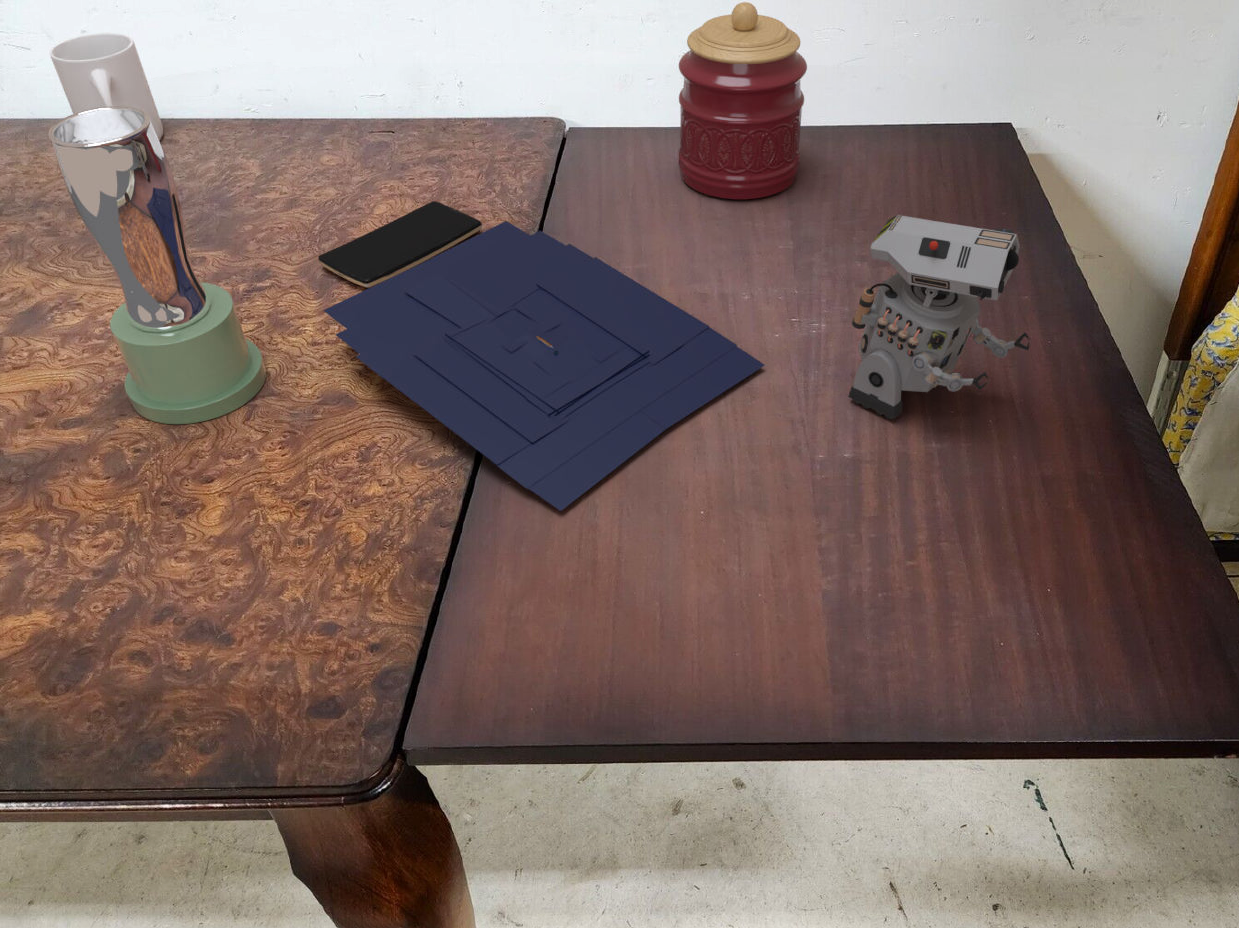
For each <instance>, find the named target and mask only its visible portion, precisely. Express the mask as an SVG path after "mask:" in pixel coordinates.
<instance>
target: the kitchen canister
mask: <svg viewBox="0 0 1239 928" xmlns="http://www.w3.org/2000/svg"><path fill="white" fill-rule="evenodd" d="M800 38H801V37H800V36H799V35H798V34H797V33H796V32H795V31H794V30H792V29H790V28H789V27H787V26H786V24H785V23H784V22H782V21H781V20H779V19H777V18H774V17H771V16H767V15H762V14H758V10H757V8H756V6H755V5H754V4H752V3H751V2H747V1H743V2H739V3H738V4H736V5H735V6H734V7H733V9H732V11H731V14H725V15H718V16H716V17H713V18H711V19H708V20H707V21H705V22H704V23H703V24H702V25H701V26H699V27H698V28H696V29H694V30H693V31H692V32H690V34H689V35H688V36H687V39H686V44H687V47H688V48H689V50H688V51H686V53H684V54H683V55H682V56H681V58H680V60H679V62H678V70H679V73H680V74H681V76H682V77H683V86H682V89H681V90H680V92H679V95H678V103H679V106H680V112H679V113H680V114H679V115H680V116H679V117H680V121H679V122H680V132H679V133H680V138H679V139H680V140H679V141H680V144H679V145H680V146H679V149H678V165H679V168H680V174H681V175H680V176H681V177H682V180H683V181H684V182H685V184H686V185H687V186H689V187H690V188H692V189H693V190H695V191H697V192H699V193H701V194H704V195H707V196H710V197H714V198H719V199H727V200H754V199H761V198H766V197H769V196H773V195H776V194H779V193H780V192H783V191H784V190H786V189H788V188H789V187H790V186H791V185H792V184H793V183H794V181H795V180H796V176H797V172H798V170H799V167H800V159H801V152H800V138H801V126H802V125H801V124H802V113H803V112H802V111H803V106H804V104H805V95H804V93H803V91H802V89H801V79H802V78H803V77H804V76H805V75H806V73H807V70H808V63H807V61H806V59H805V57H803V55H801V53H799V52H798V50H799V48H800V46H801V39H800Z"/></svg>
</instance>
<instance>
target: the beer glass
mask: <svg viewBox="0 0 1239 928" xmlns="http://www.w3.org/2000/svg"><path fill="white" fill-rule="evenodd" d="M48 137H49V139H50V142H51V144H52V148H53V151H54V153H55V154H54V155H55V157H56V160H57V163H58V167H59V169H60V170H59V171H60V172H61V175H62V179H63V181H64V184H65V186H66V189H67V192H68V195H69V196H70V198H71V200H72V202H73V205H74V207H75V209H76V211H77V213H78V216H79V217H80V219H81V220H82V222H83V223H84V225H85V227H86V229H87V230H88V232H89V233H90V235H91V237H92V238H93V240H94V241H95V244H96V245H97V246H98V247H99V249H100V251H101V252H102V254H103V255H104V257H105V258H106V260H107V261H108V263H109V264H110V267H111V268H112V269H113V271H114V273H115V275H116V277H117V279H118V281H119V284H120V287H121V289H122V293H123V294H122V295H123V299H124V303H125V304H126V309H127V314H128V318H129V321H130V322H131V324H132V325H133V326H134V327H136V328H137V329H140V330H143V331H147V332H168V331H174V330H178V329H181V328H184V327H187V326H189V325H191V324H193V323H195V322H197V321H198V320H200V319H201V318H202V317H204V316H205V315H206V313H207V312H208V310H209V308H210V299H209V296H208V295H207V293H206V291H205V289H204V288H203V286H202V284H201V283H200V282H201V281H200V279H199V277H198V275H197V274H196V271H195V269H194V267H193V264H192V262H191V258H190V254H189V249H188V244H187V237H186V232H185V224H184V218H183V212H182V211H183V210H182V205H181V200H180V196H179V192H178V187H177V184H176V181H175V177H174V174H173V171H172V168H171V165H170V163H169V161H168V157H167V156H166V153H165V150H164V149H163V146H162V143H161V142H160V141H161V140H159V139H158V137H157V134H156V132H155V130H154V128H153V126H152V123H151V121H150V117H149V115H148V114H147V113H146V112H145V111H143V110H140V109H137V108H133V107H124V106H112V107H101V108H95V109H90V110H86V111H82V112H78V113H75V114H73V113H72V114H69V115H67V116H66V117H64V118H62V119H60V120H58V121H57V122H56V123H54V124H53V125H52V126H51V127H50V128H49V131H48Z"/></svg>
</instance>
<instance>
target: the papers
mask: <svg viewBox="0 0 1239 928" xmlns="http://www.w3.org/2000/svg"><path fill="white" fill-rule="evenodd" d="M322 311H323V312H325V314H327V315H328V316H329V317H331V318H332V319H333V320H334V321H336V322H337V323H339V324H340V325H341V326H342V327H343V328H345V329H343V330H341V331H339V332H337V333H335V336H336V337H337V338H338V339H340V340H341V341H342V342H344V343H345V344H346V345H347V346H348V347H350V348H351V349H352V350H353V351H355V352H356V353H357V355H356V356H355V358H357V359H358V360H359V361H360V362H361V363H363V364H364V365H365V366H367V367H368V368H369V369H371V371H373V372H374V373H375V374H376V375H378V376H379V377H380V378H381V379H383V380H384V381H387V382H388V383H389V384H390V385H392V386H393V387H394V388H396V389H397V390H398V391H399V392H401V393H402V394H403V395H405V397H407V398H409V399H410V400H411V401H412V402H414V403H415V404H416V405H418V406H419V407H421V408H422V409H423V410H424V411H425V412H427V413H428V414H430V416H432V417H433V418H435V419H436V420H438V421H439V422H440V423H441V424H442V425H444V426H445V427H446V428H447V429H449V430H450V431H451V432H453V433H454V434H456V435H457V436H458V437H460V438H461V439H462V440H463V441H465V442H466V443H467V444H469V445H470V446H471V447H473V448H474V449H475V450H477V451H478V452H479V453H480V454H482V455H483V456H484V457H486V458H487V459H489V460H490V461H491V463H492V464H494V465H495V466H496V467H497V468H499V469H500V470H501V471H503V472H504V473H505V474H506V475H508V476H509V477H510V478H511V479H513V480H514V481H516V482H517V483H518V484H519V485H521V486H522V487H523V488H525V489H526V490H530V491H531V492H533V493H534V494H535V495H537V496H538V497H540V498H541V499H543V500H544V501H545V502H547V503H548V504H550V505H551V506H553V507H554V508H555V509H557V510H558V511H559V512H561V511H563V510H565V508H567V507H568V506H569V505H570V504H572V503H573V502H574V501H576V500H577V499H578V498H580V497H581V496H582V495H584V494H585V493H586V492H587V491H589V490H590V489H591V488H593V486H595V485H597V483H599V482H601V480H603V479H604V478H605V477H607V476H609V474H611V473H612V472H613V471H615V470H616V469H617V468H618V467H620V466H621V465H622V464H623V463H625V462H626V461H627V460H629V458H631V457H632V456H634V455H635V454H636V453H637V452H639V451H640V450H641V449H643V448H644V447H645V446H646V445H648V444H649V443H650V442H651V441H653V440H654V439H655V438H656V437H658V436H659V435H661V434H662V433H663V432H664V431H666V430H667V429H669V428H671V426H673V425H675V424H676V423H678V422H680V421H681V420H682V419H684V418H686V417H687V416H689V415H690V414H692V413H694V412H695V411H697V410H698V409H699V408H701V407H703V406H704V405H706V404H707V403H709V402H711V401H713V400H714V399H716V398H717V397H718V396H720V395H721V394H723V393H725V392H726V391H727V390H729V389H731V388H732V387H734V386H735V385H736V384H739V383H740V382H742V381H743V380H744V379H746V378H747V377H749V376H751V375H752V374H754V373H756V372H757V371H759V370H760V369H762V368H764V367H765V366H766V365H765V363H763V362H762V361H760V360H758V359H757V358H755V357H754V356H752V355H750V354H749V353H748V352H746V351H744V350H743V349H742V348H740V347H738V345H737V344H736V343H735V342H733V341H732V340H730V339H729V338H727V337H726V336H724V335H722V334H721V333H720V332H718V331H716V330H715V329H713V328H711V326H710V325H709V324H707V323H705V322H703V321H701V320H700V319H699V318H696V316H693V315H692V314H690V313H689V312H687V311H685V310H684V309H682V308H680V307H679V306H677V305H675V304H673V303H672V302H670V301H668V300H667V299H665V298H664V297H662V296H660V295H659V294H657V293H655V292H654V291H652V290H651V289H649V288H648V287H646V286H644V285H643V284H640V283H639V282H637V281H636V280H634V279H633V278H631V277H629V276H627V275H626V274H625V273H622V272H621V271H619V270H618V269H616V268H614V267H613V266H611V265H610V264H608V263H606V262H604V261H602V260H601V259H599V258H598V257H596V256H594V257H593V256H591V255H589V254H588V253H586V252H584V251H583V250H581V249H579V248H578V247H576V246H574V245H573V244H571V243H568V244H564V243H563V242H561V241H559V240H557V239H556V238H554V237H552V236H550V235H548V234H547V233H545V232H543V231H542V230H539V231H537V232H535V233H533V234H531V235H530V234H529V233H527V232H526V231H524V230H522V229H521V228H520V227H517V226H516V225H514V224H512V223H511V222H509V221H508V220H505V221H503V222H501V223H499V224H497V225H495V226H493V227H490V228H489V229H487V230H484V231H483V232H481V233H479V234H477V235H474V236H473V237H471V238H469V239H467V240H465V241H463V242H461V243H458V244H456V245H454V246H452V247H450V248H448V249H446V250H444V251H442V252H441V253H439V254H437V255H435V256H433V257H431V258H429V259H428V260H426V261H424V262H422V263H420V264H418V265H416V266H414V267H412V268H410V269H408V270H406V271H404V272H402V273H400V274H398V275H396V276H393V277H391V278H389V279H387V280H385V281H383V282H380V283H378V284H376V285H374V286H371V287H368V288H367V289H365V290H362V291H361V292H358V293H356V294H354V295H351V296H350V297H347V298H346V299H343V300H341V301H340V302H337V303H335V304H333V305H331V306H329V307H326V308H325V309H323V310H322Z"/></svg>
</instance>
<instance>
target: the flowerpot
mask: <svg viewBox="0 0 1239 928" xmlns="http://www.w3.org/2000/svg"><path fill="white" fill-rule="evenodd" d="M200 283H201V284H202V286H203V288H204V289H205V291H206V293H207V295H208V296H209V299H210V308H209V310H208V312H207V313H206V315H205V316H204V317H202V318H201V319H200V320H198V321H197V322H195V323H193V324H191V325H189V326H187V327H184V328H181V329H178V330H174V331H168V332H147V331H143V330H140V329H137V328H136V327H134V326H133V325H132V324H131V322H130V321H129V318H128V314H127V309H126V304H125V302H123V303H122V304H121V305H119V307H118V308H117V309H116V310H114V313H113V314H112V316H111V317H110V320H109V321H110V322H109V327H110V331H111V334H112V336H113V338H114V340H115V343H116V345H117V348H118V349H119V352H120V354H121V356H122V360H123V361H124V364H125V366H126V368H127V370H128V371H127V373H126V375H125V379H124V390H125V393H126V395H127V398H128V400H129V403H130V404H131V406H132V408H133V409H134V411H135V412H136V413H137V414H138V415H139V416H141V417H143V418H145V419H146V420H149V421H151V422H155V423H160V424H166V425H190V424H196V423H202V422H206V421H210V420H214V419H217V418H220V417H222V416H225V415H228V414H230V413H232V412H234V411H236V410H237V409H239V408H241V407H243V406H244V405H246V404H247V403H249V402H250V401H251V400H253V398H254V397H256V395H257V394H258V393H259V392H260V391H261V389H262V388H263V387H264V385H265V382H266V379H267V367H266V363H265V360H264V358H263V355H262V352H261V350H260V348H259V347H258V346H257V344H255V343H254V342H252V341H251V340H249V339H247V338H246V336H245V335H246V334H245V332H244V329H243V326H242V323H241V320H240V318H239V314H238V312H237V307H236V305H235V302H234V300H233V297H232V295H231V294H230V293H229V291H228V290H226V289H224V288H223V287H221V286H219V285H217V284H213V283H209V282H203V281H200Z"/></svg>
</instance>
